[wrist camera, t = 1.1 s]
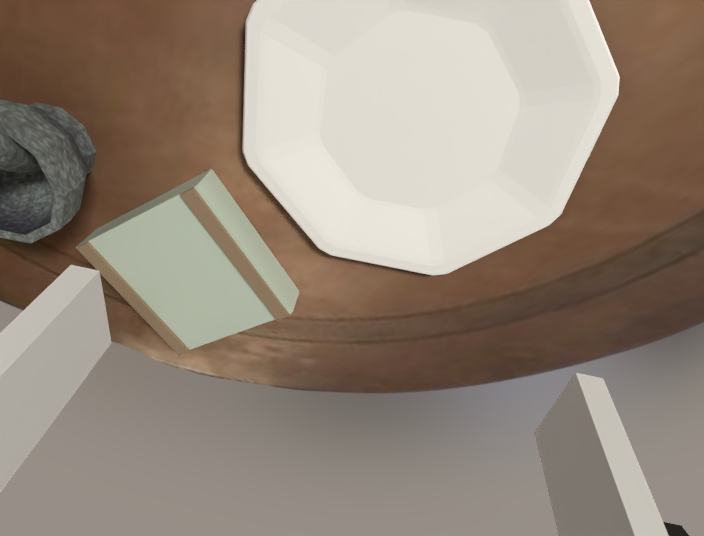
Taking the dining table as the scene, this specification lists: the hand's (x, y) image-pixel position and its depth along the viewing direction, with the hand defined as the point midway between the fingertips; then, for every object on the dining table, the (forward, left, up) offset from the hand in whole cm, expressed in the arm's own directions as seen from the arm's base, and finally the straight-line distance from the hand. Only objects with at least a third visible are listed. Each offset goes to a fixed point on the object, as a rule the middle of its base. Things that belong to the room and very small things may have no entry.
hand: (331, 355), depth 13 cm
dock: (+5, -20, -24) cm, 31 cm away
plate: (+2, +2, -24) cm, 24 cm away
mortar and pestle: (-9, -23, -24) cm, 34 cm away
